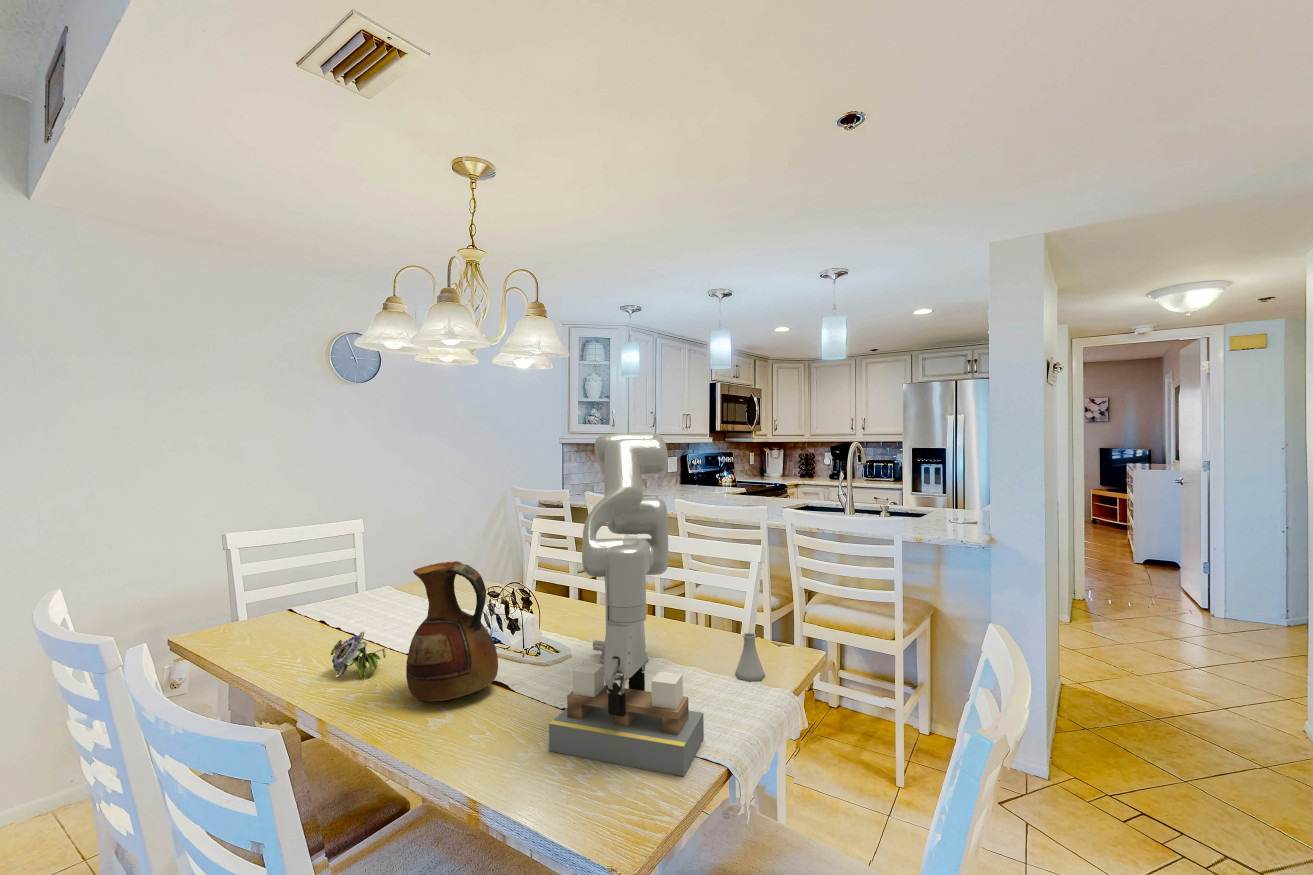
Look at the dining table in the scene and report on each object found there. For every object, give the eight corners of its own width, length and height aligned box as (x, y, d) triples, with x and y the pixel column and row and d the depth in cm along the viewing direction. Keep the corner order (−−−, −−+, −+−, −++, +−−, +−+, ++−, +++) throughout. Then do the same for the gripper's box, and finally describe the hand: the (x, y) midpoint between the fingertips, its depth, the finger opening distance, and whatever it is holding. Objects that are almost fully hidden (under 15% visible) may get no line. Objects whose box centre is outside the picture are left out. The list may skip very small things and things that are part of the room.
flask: (765, 683, 135) (764, 640, 135) (734, 680, 137) (733, 638, 137) (765, 671, 142) (764, 630, 143) (735, 669, 144) (735, 628, 144)
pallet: (567, 716, 109) (567, 695, 109) (582, 702, 115) (582, 682, 115) (678, 735, 102) (678, 712, 102) (688, 718, 108) (688, 696, 108)
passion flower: (339, 698, 142) (319, 655, 145) (382, 676, 151) (362, 636, 153) (351, 683, 136) (330, 639, 138) (395, 661, 144) (374, 619, 147)
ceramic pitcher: (428, 675, 142) (427, 554, 143) (509, 675, 142) (507, 553, 142) (389, 712, 123) (388, 571, 123) (482, 712, 122) (481, 571, 123)
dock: (549, 750, 106) (549, 723, 106) (581, 718, 119) (581, 694, 119) (684, 776, 98) (683, 746, 98) (703, 738, 110) (703, 712, 110)
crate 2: (651, 705, 104) (651, 680, 104) (660, 695, 109) (659, 671, 109) (675, 709, 103) (675, 683, 103) (682, 698, 107) (682, 674, 107)
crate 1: (573, 694, 110) (572, 670, 110) (583, 684, 114) (583, 661, 114) (594, 697, 108) (594, 673, 108) (604, 687, 112) (604, 664, 112)
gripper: (625, 598, 118) (626, 682, 118) (587, 623, 102) (588, 721, 101) (660, 601, 115) (661, 687, 115) (627, 627, 99) (628, 727, 99)
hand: (627, 703), depth 108 cm, fingers open, 9 cm apart
